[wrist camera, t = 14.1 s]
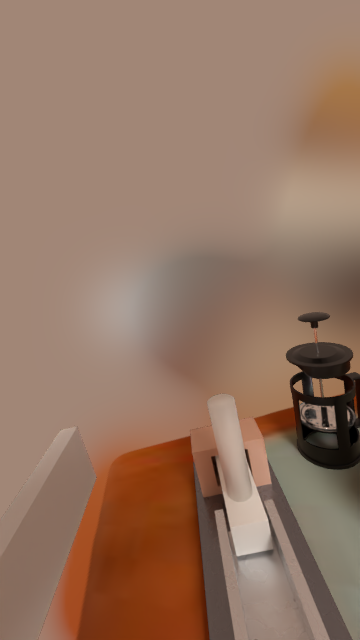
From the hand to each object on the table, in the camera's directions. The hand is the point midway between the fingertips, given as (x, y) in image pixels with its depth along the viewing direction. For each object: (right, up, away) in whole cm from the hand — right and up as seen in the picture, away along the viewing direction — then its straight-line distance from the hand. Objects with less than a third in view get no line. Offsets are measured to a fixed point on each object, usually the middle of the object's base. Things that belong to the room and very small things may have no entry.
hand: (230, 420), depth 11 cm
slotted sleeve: (+7, -23, +20) cm, 31 cm away
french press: (+23, -17, +32) cm, 43 cm away
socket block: (+6, -20, +29) cm, 35 cm away
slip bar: (+6, -19, +22) cm, 30 cm away
